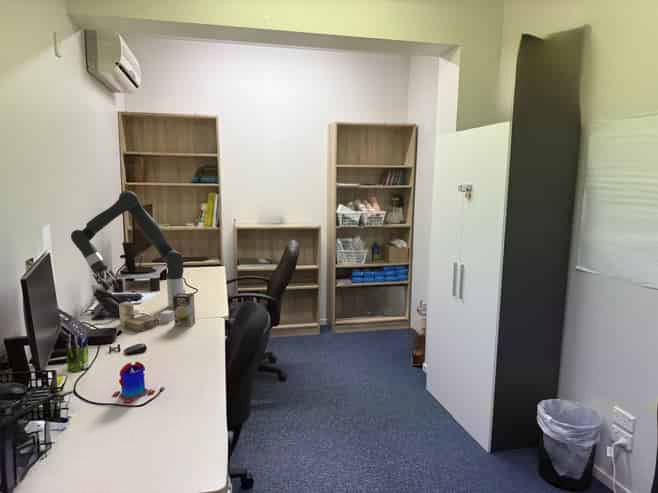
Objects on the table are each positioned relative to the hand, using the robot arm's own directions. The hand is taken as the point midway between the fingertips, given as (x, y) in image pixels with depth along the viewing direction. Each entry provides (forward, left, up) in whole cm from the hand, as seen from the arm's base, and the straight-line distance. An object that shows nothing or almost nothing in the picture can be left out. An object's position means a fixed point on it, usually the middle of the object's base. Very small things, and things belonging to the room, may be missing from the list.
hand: (112, 288), depth 236 cm
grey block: (-15, +23, -18) cm, 33 cm away
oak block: (-1, +9, -18) cm, 20 cm away
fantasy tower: (+44, +81, -18) cm, 94 cm away
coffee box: (-16, +36, -18) cm, 44 cm away
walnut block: (-1, +20, -18) cm, 27 cm away
